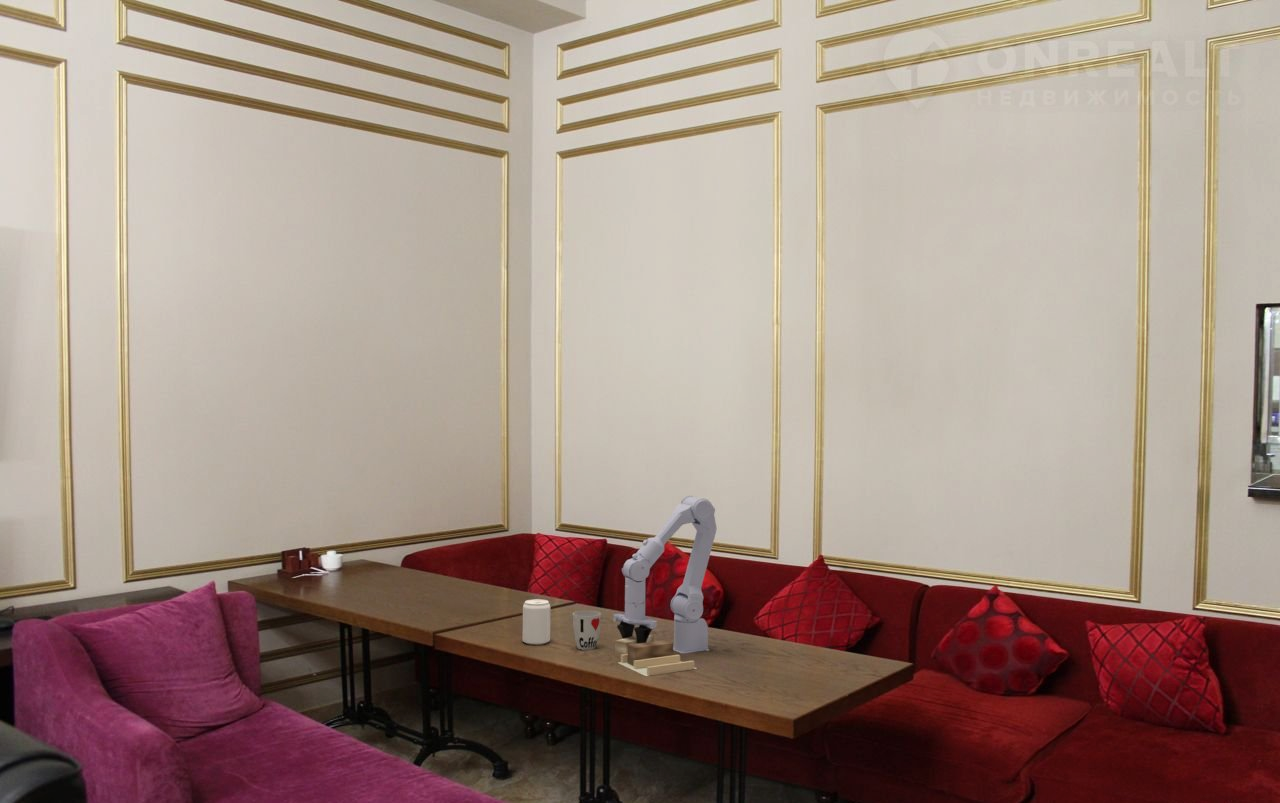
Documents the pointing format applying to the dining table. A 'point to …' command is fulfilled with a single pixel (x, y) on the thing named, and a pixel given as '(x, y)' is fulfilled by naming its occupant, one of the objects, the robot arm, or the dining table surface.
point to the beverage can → (536, 622)
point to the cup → (586, 629)
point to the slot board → (658, 665)
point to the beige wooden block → (622, 644)
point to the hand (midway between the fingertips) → (634, 650)
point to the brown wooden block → (649, 650)
